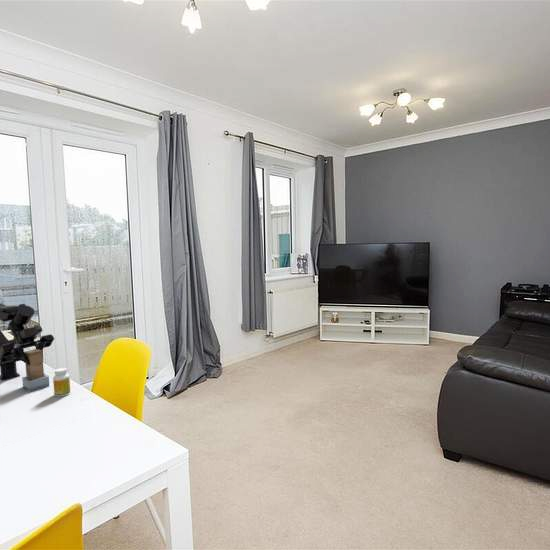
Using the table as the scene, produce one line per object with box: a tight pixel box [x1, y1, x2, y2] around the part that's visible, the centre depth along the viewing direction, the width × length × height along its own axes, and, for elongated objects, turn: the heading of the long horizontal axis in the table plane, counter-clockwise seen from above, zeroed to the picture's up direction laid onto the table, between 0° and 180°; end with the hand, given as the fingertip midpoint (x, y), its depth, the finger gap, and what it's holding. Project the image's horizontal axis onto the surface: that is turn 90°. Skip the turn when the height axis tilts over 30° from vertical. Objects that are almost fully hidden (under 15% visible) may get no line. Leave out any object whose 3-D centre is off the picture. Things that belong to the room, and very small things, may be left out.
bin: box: [21, 373, 50, 392], centre depth 152 cm, size 7×7×4 cm
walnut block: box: [24, 348, 45, 380], centre depth 151 cm, size 4×4×11 cm
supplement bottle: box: [52, 367, 71, 398], centre depth 144 cm, size 5×5×10 cm
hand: (35, 362), depth 150 cm, fingers closed on walnut block, 4 cm apart
